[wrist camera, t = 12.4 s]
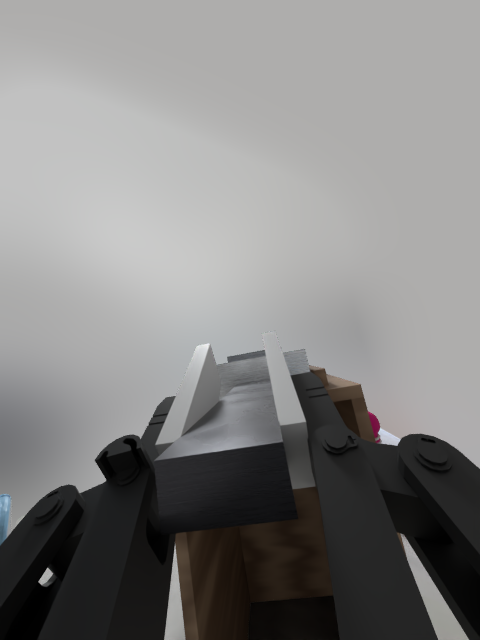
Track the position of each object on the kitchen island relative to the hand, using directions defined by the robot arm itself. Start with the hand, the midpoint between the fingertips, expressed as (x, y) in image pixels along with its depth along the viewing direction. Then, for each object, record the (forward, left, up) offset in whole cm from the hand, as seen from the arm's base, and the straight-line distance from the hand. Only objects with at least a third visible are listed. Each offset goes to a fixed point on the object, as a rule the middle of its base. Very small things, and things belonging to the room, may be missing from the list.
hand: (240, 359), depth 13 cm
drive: (0, +7, -4) cm, 8 cm away
